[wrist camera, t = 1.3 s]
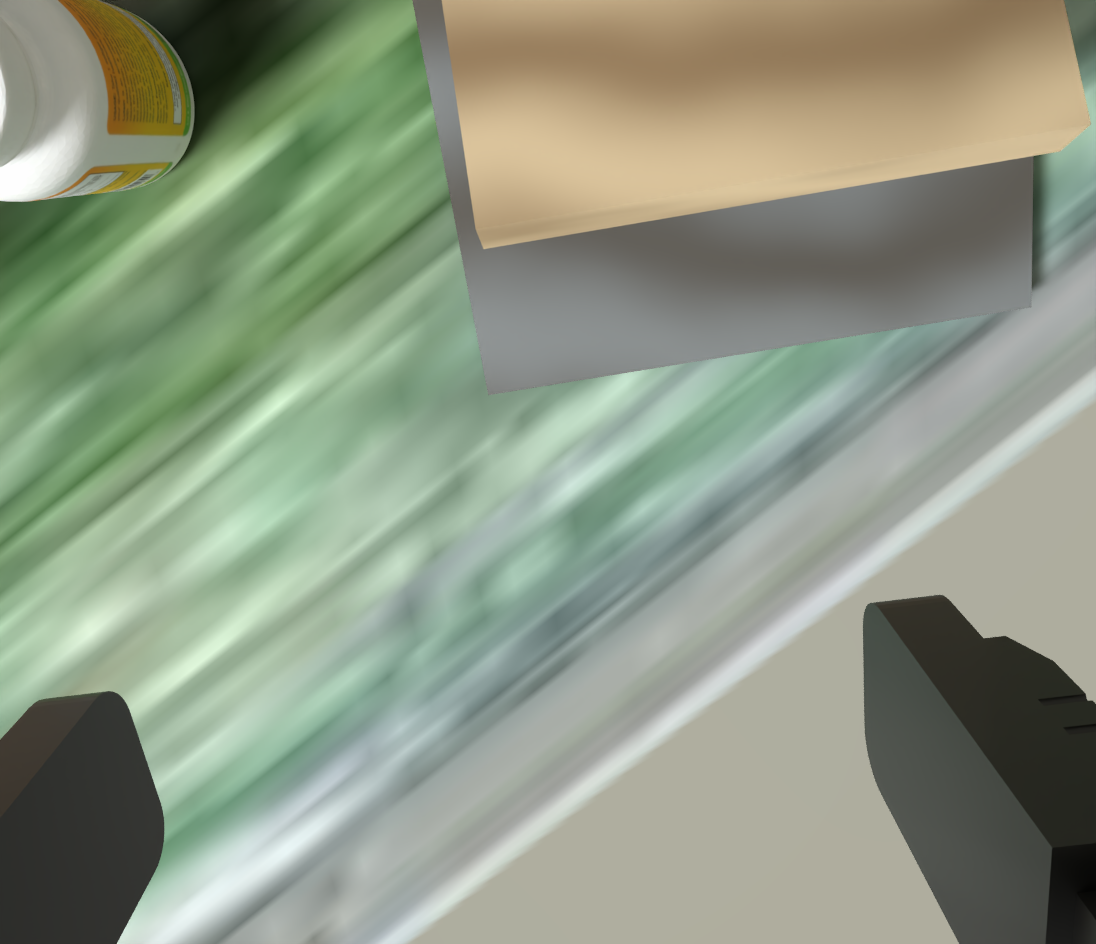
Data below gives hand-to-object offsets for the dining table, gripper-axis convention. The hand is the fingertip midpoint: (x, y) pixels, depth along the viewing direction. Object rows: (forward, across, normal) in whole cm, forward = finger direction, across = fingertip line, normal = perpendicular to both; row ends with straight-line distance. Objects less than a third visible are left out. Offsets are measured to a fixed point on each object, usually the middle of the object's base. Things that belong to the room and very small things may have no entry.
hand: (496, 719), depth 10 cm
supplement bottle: (+23, +12, -9) cm, 27 cm away
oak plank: (+21, -7, -11) cm, 25 cm away
